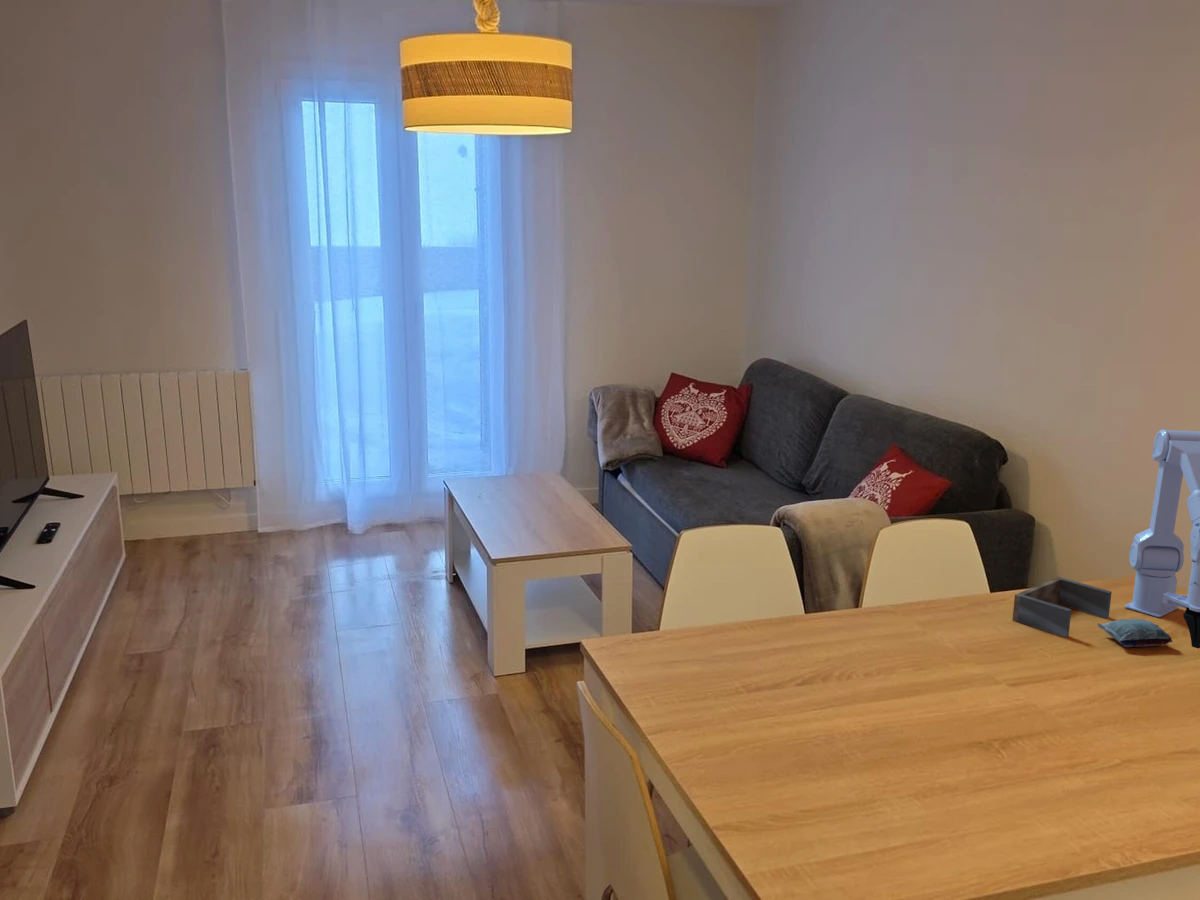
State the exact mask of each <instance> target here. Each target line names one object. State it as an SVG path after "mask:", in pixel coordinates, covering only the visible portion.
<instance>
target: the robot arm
mask: <svg viewBox="0 0 1200 900" xmlns="http://www.w3.org/2000/svg"><path fill="white" fill-rule="evenodd" d="M1151 455H1152V461H1156V462H1157V463H1158V471H1157V477H1156V484H1155V491H1154V497H1153V504H1152V509H1151V515H1150V521H1149V528H1147V529H1145V530H1143V531H1140V532H1138V533H1136V534H1135V535H1134V537H1133V541H1132V543H1131V546H1130V550H1129V563H1130V566H1131V567H1132V569H1133V570H1136V571H1135V577H1134V578H1135V579H1134V585H1133V586H1134V587H1133V593H1132V594H1133V595H1132V601H1130V602H1128V603H1126V604H1125V605H1124V608H1126V609H1127V610H1133V611H1135V612H1138V613H1143V614H1146V615H1150V616H1153V617H1157V618H1162V617H1164V616H1165V615H1167V614H1169V613H1172V612H1173V611H1176V610H1177V609H1179V608H1183V609H1185V611H1184V612H1183V613H1182V615H1183V619H1184V621H1185V622H1186V626H1187V629H1188V631H1189V637H1190V643H1191V647H1192V648H1195V649H1200V431H1199V430H1196V431H1195V430H1176V429H1175V430H1173V429H1165V428H1164V429H1160V430H1159V431H1158V432H1157V433H1156V434H1155V436H1154V442H1153V447H1152V454H1151ZM1183 477H1184V478H1183ZM1183 479H1184V480H1185V482H1186V484H1187V487H1188V490H1189V493H1190V495H1189V497H1188V498H1187V499H1186V506H1187V509H1188V514H1189V519H1190V522H1191V526H1192V528H1191V531H1190V534H1189V540H1190V541H1189V542H1190V543H1189V544H1190V552H1189V554H1190V558H1191V559H1192V560H1191V568H1190V575H1189V583H1188V591H1187V595H1184V594H1177V585H1178V580H1177V579H1178V578H1177V576H1176V573H1178V572H1180V571H1181V570H1182V568H1183V566H1184V559H1185V558H1184V557H1185V556H1184V555H1185V554H1184V547H1185V545H1184V543H1183V540H1182V539H1181V538H1180V537H1179V536H1178V535H1176V533H1174V532H1175V526H1176V520H1177V514H1178V508H1179V502H1180V501H1179V500H1180V496H1181V490H1182V489H1181V488H1182V484H1183Z"/></svg>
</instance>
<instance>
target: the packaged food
mask: <svg viewBox="0 0 1200 900" xmlns="http://www.w3.org/2000/svg"><path fill="white" fill-rule="evenodd" d="M1097 626H1098V628H1100V629H1101V630H1103V631H1104V632H1105V633H1106V634H1107V635H1109V636H1110V637H1112V638H1113V639H1114V640H1116V641H1117V642H1118V643H1119V644H1121V645H1122V646H1123V647H1125V648H1136V647H1138V648H1142V647H1144V648H1145V647H1157V646H1164V645H1167V644H1169V643H1173V640H1172V639H1173V638H1172V637H1171V636H1170V635H1169V633H1167V632H1166V631H1165V630H1164V629H1162V628H1161V627H1160V626H1159V625H1158V624H1156V623H1155V622H1152V621H1151V620H1146V619H1142V618H1132V619H1131V618H1129V619H1126V618H1125V619H1124V618H1123V619H1122V618H1121V619H1117V620H1116V619H1115V620H1113V621H1108V622H1106V623H1103V624H1100V623H1097Z"/></svg>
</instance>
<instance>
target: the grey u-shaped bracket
mask: <svg viewBox="0 0 1200 900" xmlns="http://www.w3.org/2000/svg"><path fill="white" fill-rule="evenodd" d="M1112 593H1113V592H1112V591H1110V590H1108V589H1103V588H1099V587H1096V586H1093V585H1089V584H1086V583H1082V582H1078V581H1076V580H1071V579H1067V578H1064V577H1060V576H1057V577H1055V578H1053V579H1051V580H1047V581H1046V582H1043V583H1041V584H1038V585H1036V586H1033V587H1030V588H1028V589H1026V590H1024V591H1021V592H1018V593H1015V594H1014V601H1013V609H1012V619H1011V620H1012V621H1014V622H1017V623H1019V624H1023V625H1026V626H1029V627H1032V628H1035V629H1036V630H1037V629H1039V630H1041V631H1044V632H1047V633H1051V634H1052V635H1056V636H1060V637H1063V638H1067V637H1069V635H1070V627H1071V626H1070V625H1071V617H1072V610H1077V611H1078V612H1083V613H1086V614H1090V615H1093V616H1096V617H1099V618H1103V619H1108V618H1110V617H1109V616H1110V609H1111V601H1112Z"/></svg>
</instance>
